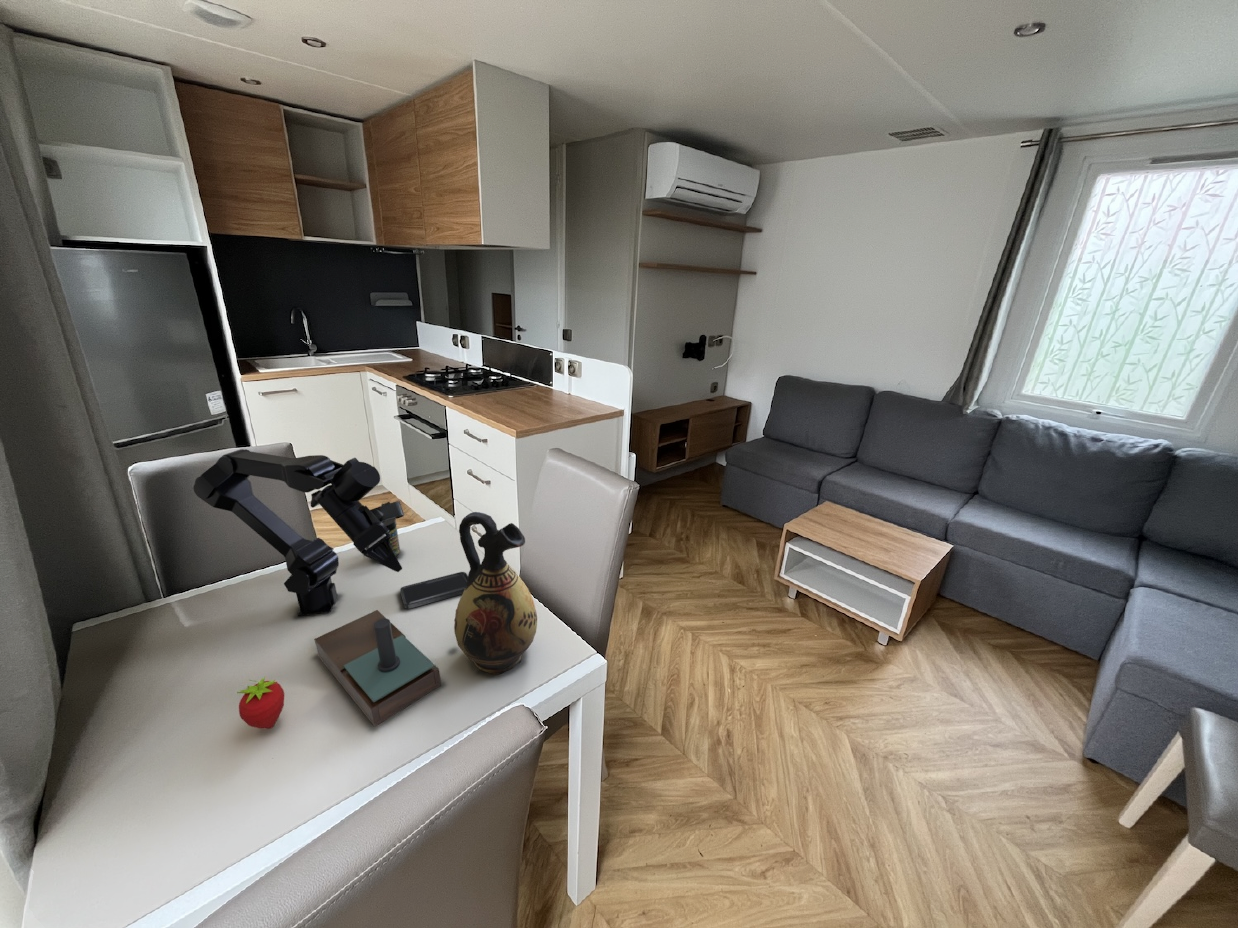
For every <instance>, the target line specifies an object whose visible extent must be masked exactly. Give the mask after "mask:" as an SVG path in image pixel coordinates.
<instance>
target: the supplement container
mask: <svg viewBox="0 0 1238 928" xmlns="http://www.w3.org/2000/svg"><path fill="white" fill-rule="evenodd" d="M382 523H384V524H385V526H386V527H387V528H388V529H389V531H388V532H387V534H389V533H391V536H390V542H389V545H390V547H391V549H392V550H393V552H394V554H395V556H396V558H397V559H398V558H399V556H400V555H401V553H402V552H401V545H400V539H399V533H398V526H397V524H398V523H397V519H396V518H395V519H392V520H389V521H386V522H382Z"/></svg>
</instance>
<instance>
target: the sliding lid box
mask: <svg viewBox="0 0 1238 928" xmlns="http://www.w3.org/2000/svg"><path fill="white" fill-rule="evenodd" d="M383 618H386V619H388V618H387V617H386V616H385V615H384V614H382V613H381V612H380V611H379V610H378V609H376V610H374V611H371V612H369V613H367V614H364V615H363V616H361V617H359V618H356V619H354V620H352V621H350V622H348V623H345V624H344V625H341V626H339V627H337V628H335V629H333V630H331V631H328V632H326V633H324V634H322V635H320V636H317V637H315V638H314V645H315V649H316V652H317V656H318V658H319V659H320V660H321V661H322V663H323V664H324V665H325V667H326V668H327V669H328V670H329V672H330V673H331V674H332V675H333V676H334V678H335V679H336V680H337V681H338V683H339V684H340V685H341V687H342V688H343V689H344V690H345V692H346V693H347V694H348V695H349V697H350V698H351V699H352V700H353V702H354V703H355V704H356V705H357V707H358V708H359V709H360V710H361V711H362V713H363V714H364V715H365V717H366V718H367V719H368V720H369V722H370V723H371V725H372V726H374V727H378V726H379V725H380V724H381V723H383V722H384V721H387V720H388V719H389V718H391V717H393V716H394V715H396V714H398V713H399V712H401V711H402V710H404V709H405V708H407V707H409V706H410V705H412V704H413V703H415V702H417V701H418V700H420V699H421V698H424V697H425V696H426V695H428V694H429V693H430V692H432V691H435V690H436V689H437V688H439V687H440V686H442V681H441V673H440V668H439V667H438V666H437V665H436V664H435V666H434V667H433V668H431V669H429V670H428V671H426V672H424V673H423V674H421V675H419V676H418V677H416V678H414V679H412V680H411V681H409V682H407V683H406V684H404V685H402V686H401V687H399V688H397V689H396V690H394V691H392V692H391V693H389V694H387V695H386V696H384V697H382V698H380V699H379V700H377V701H375V702H373V701H372V700H371V699H370V698H369V696H368V695H367V694H366V693H365V692H364V691H363V689H362V688H361V687H360V686H359V685H358V683H357V682H356V681H355V680H354V679H353V677H352V676H351V675H350V674H349V673H348V672H347V670H346V669H345V668H344V665H345V664H347V663H349V662H351V661H353V660H355V659H357V658H359V657H361V656H363V655H365V654H367V653H369V652H371V651H372V650H374V649H376V648H377V643H376V638H375V632H374V627H373V624H374V623H375V622H376V621H377V620H379V619H383ZM390 624H391V630H392V636H393V640H394V639H396V638H398V637H399V636H401V635H403V636H404V637H405V638H407V636H406V635H405V634H404V633H403V632H402V631H401V630H400V629H398V628H397V627H396V625H394V624H393V623H392V622H391V621H390Z"/></svg>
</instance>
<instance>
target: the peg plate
mask: <svg viewBox="0 0 1238 928" xmlns="http://www.w3.org/2000/svg"><path fill="white" fill-rule="evenodd" d="M386 618H387V617H386ZM386 618H383V619H379V620H377V621H376V622H375V623H374V624H373V627H374V632H375V638H376V643H377V648H376V649H374V650H372V651H371V652H369V653H367V654H365V655H363V656H361V657H359V658H357V659H355V660H353V661H351V662H349V663H347V664H345V665H344V668H345V669H346V670H347V672H348V673H349V674H350V675H351V676H352V677H353V679H354V680H355V681H356V682H357V683H358V685H359V686H360V687H361V688H362V689H363V691H364V692H365V693H366V694H367V695H368V696H369V698H370V699H371V700H372V701H373V702H375V701H377V700H379V699H380V698H382V697H384V696H386V695H387V694H389V693H391V692H392V691H394V690H396V689H397V688H399V687H401V686H402V685H404V684H406V683H407V682H409V681H411V680H412V679H414V678H416V677H418V676H419V675H421V674H423V673H424V672H426V671H428V670H429V669H431V668H433V667H434V666H435V665H436V663H434V662H432V660H431V659H429V658H428V657H427V656H426V655H425V654H424V653H423V652H422V651H421V650H419V649H418V647H416V646H415V644H413V643H412V642H411V641H410V640H409V639H408V638H407V637H406V638H405V637H404V636H403V635H401V636H399V637H398V638H396V639H394V640H393V636H392V630H391V624H390V622H391V620H390V619H389V618H387V619H386Z"/></svg>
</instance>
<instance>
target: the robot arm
mask: <svg viewBox="0 0 1238 928" xmlns="http://www.w3.org/2000/svg"><path fill="white" fill-rule="evenodd" d="M252 476H253V477H257V478H265V479H270V480H275V481H276V480H277V481H281V482H284V483H285V484H286V486H287V487H288V488H290V489H293V490H295V491H299V492H301V493H305V494H306V493H310V492H312V493H311V495H310V496H311V500H310V508H316V507H317V506H320V507H321V508H322V509H323V510H324V511H325V512H326V514H328V515H329V517H330V518H331V519H332V520H333V522H334V523H336V525H337V526H338V527H339V528H340V529H341V530H342V531H343V533H344V534H345V535H346V536H347V537H348V538H349V539H350V541H352V543H353V546H354V547H355V548H356V549H357V551H359V553H361V554H362V555H363V556H364V557H366V558H368V559H371V560H372V561H374V562H376V563H378V564H380V565H382V566H383V567H386V568H388V569H390V570H392V571H394V572H397V573H399V572H401V571H402V570H403V566H402V565H401V563H400V561H399V559H398V558H396V556H395V554H394V552H393V550H392V549H391V547H390V545H389V542H390V536H391V533H389V534H387V532H388V531H389V529H388V528H387V527H386V526H385V524H384V523H382V522H386V521H389V520H392V519H396V520H397V519H401V518H404V516H405V513H404V510H403V507H402V504H401V502H400V500H396V501H393V502H390V501H387V502H384V503H381V505H380V506H377V507H375V508H369V507H368V506H367V505H364V504H363V503H362V502H360V500H362V499H363V498H365V496H366V495H367V494H369V493H370V492H371V491H372V490H373V489H374V488H376V487H377V486H378V485H379V484H380V482H381V475H380V472H379V471H378V469H377V468H376V467H375V466H373V465H371V464H370V463H368V462H365V461H359V460H358V458H357V457H352V458H351V459H348V460H347V461H345V462H344V463H343V464H342V463H340V462H338V461H335V460H332V459H331V458H330V457H328V456H327V455H323V454H317V455H306V456H299V457H287V456H282V455H275V454H269V453H261V452H255V451H251V450H250V449H243V448H240V449H238V450H237V449H236V450H234V451H231V452H228V453H225V454H223V455H221V456H220V457H219V458H218V459H217V460H216V462H215V463H214V464H213V465H212V466H210V467H209V468H208V469H207V470H205V471H204V472H203V473H201V475H200V476H197V477H196V479H195V481H194V485H193V487H192V489H193V492H194V495H196V496H197V497H198V498H199V499H200V500H202V501H203V502H205V503H206V504H208V505H209V506H211V507H212V508H214V509H218V510H223V511H228V512H231V513H233V514H234V515H235V516H236V517H238V519H240V520H241V521H242V522H243V523H244V524H245V525H246V526H248V527H249V528H250V529H252V530H253V531H254V532H255V533H256V534H257V535H258V536H260V537H261V538H262V539H263V540H264V541H266V542H267V543H268V544H269V545H270V546H272V547H273V548H274V549H275V550H276V551H277V552H279V554H281V555H282V556H283V558H284V559H285V560H284V561H285V565H286V569H287V572H289V574H290V576H289V577H288V578H287V579H286V580H285V581H284V582H283V585H284V586H285V589H286V590H287V592H288V593H294V594H295V595H296V599H297V604H298V607H299V610H298V612H297V614H296V615H297V617H304V616H312V615H321V614H329V613H331V612H332V610H333V607H334V606H335V604H336V603H337V600H338V596H339V595H338V592H337V587H336V584H335V582H332V576H334V575H336V574H337V571H338V568H339V566H340V565H339V564H340V563H339V556H338V554H337V553H336V552H335V550H334V547H332V546H330V545H329V544H327V543H326V542H325V541H324V539H322V538H321V537H316V538H315V539H313V540H311V539H306V538H305V537H303V536H302V535H301V534H299V532H298V531H296V530H295V529H294V528H293V527H291V525H289V524H288V523H287V522H286V521H284V520H283V519H282V517H280V516H279V515H278V514H276V513H275V512H274V511H273V510H272V509H271V508H270V507H268V506H267V505H266V504H265V503H264V502H263V501H261V499H259V498H258V497H257V496H256V495H254V492H253V487H252V482H251V481H250V480H249V478H250V477H252ZM315 490H317V491H315ZM313 491H314V492H313Z"/></svg>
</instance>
